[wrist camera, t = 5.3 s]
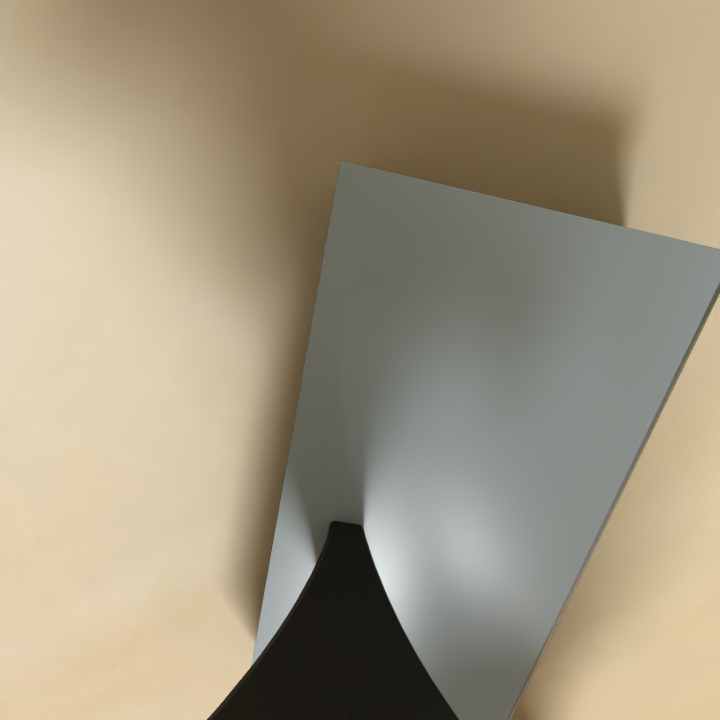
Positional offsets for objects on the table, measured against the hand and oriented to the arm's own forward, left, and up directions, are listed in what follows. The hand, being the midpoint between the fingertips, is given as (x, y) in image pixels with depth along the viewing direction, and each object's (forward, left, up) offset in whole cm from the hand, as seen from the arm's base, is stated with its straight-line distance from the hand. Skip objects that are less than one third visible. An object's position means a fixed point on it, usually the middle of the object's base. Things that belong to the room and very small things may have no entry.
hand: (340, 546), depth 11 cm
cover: (0, -3, 0) cm, 3 cm away
